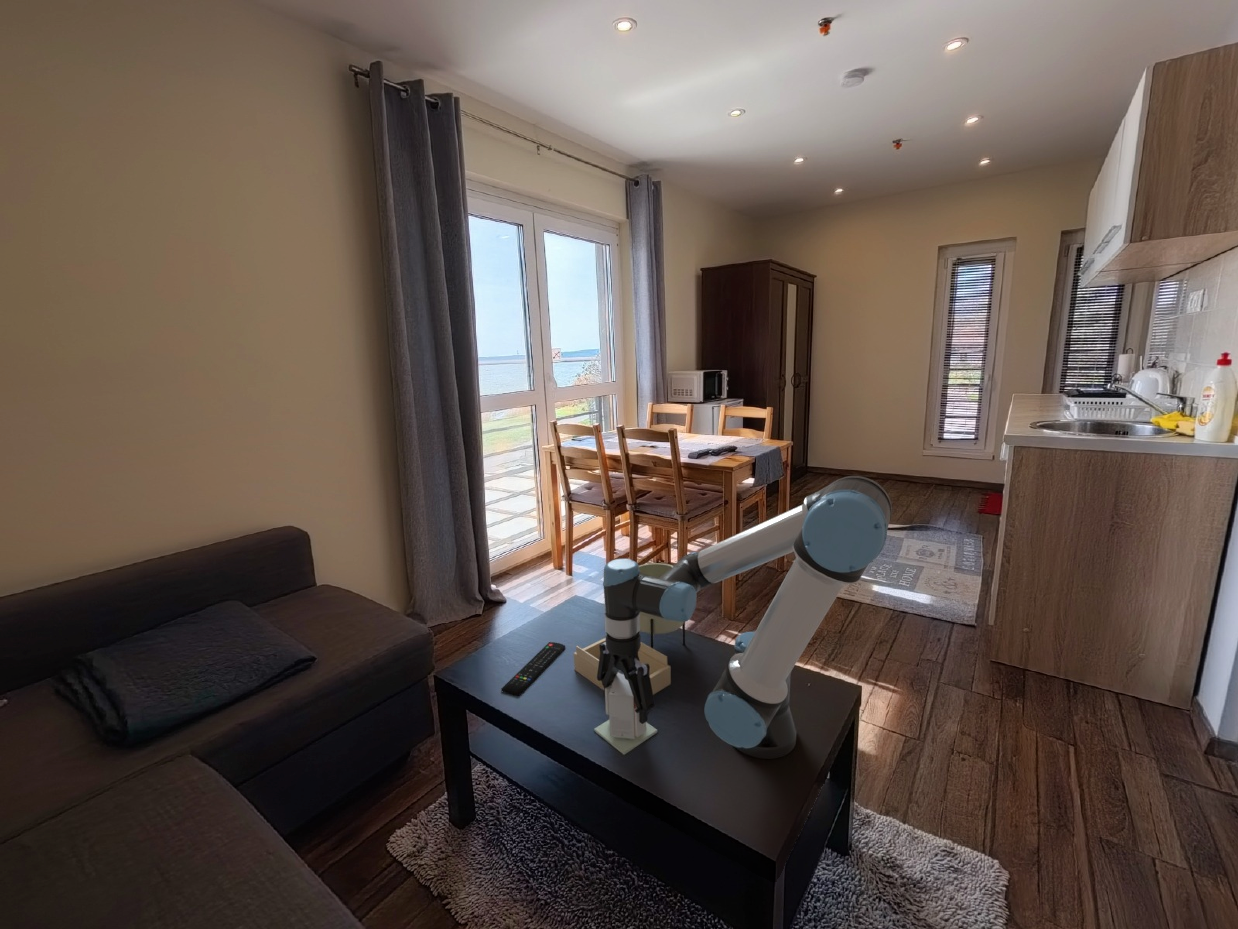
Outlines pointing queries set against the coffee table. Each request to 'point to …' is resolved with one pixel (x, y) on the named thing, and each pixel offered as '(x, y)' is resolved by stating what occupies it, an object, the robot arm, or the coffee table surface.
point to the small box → (621, 709)
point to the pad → (624, 743)
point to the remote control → (533, 669)
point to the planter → (653, 622)
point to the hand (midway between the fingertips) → (625, 722)
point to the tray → (588, 667)
